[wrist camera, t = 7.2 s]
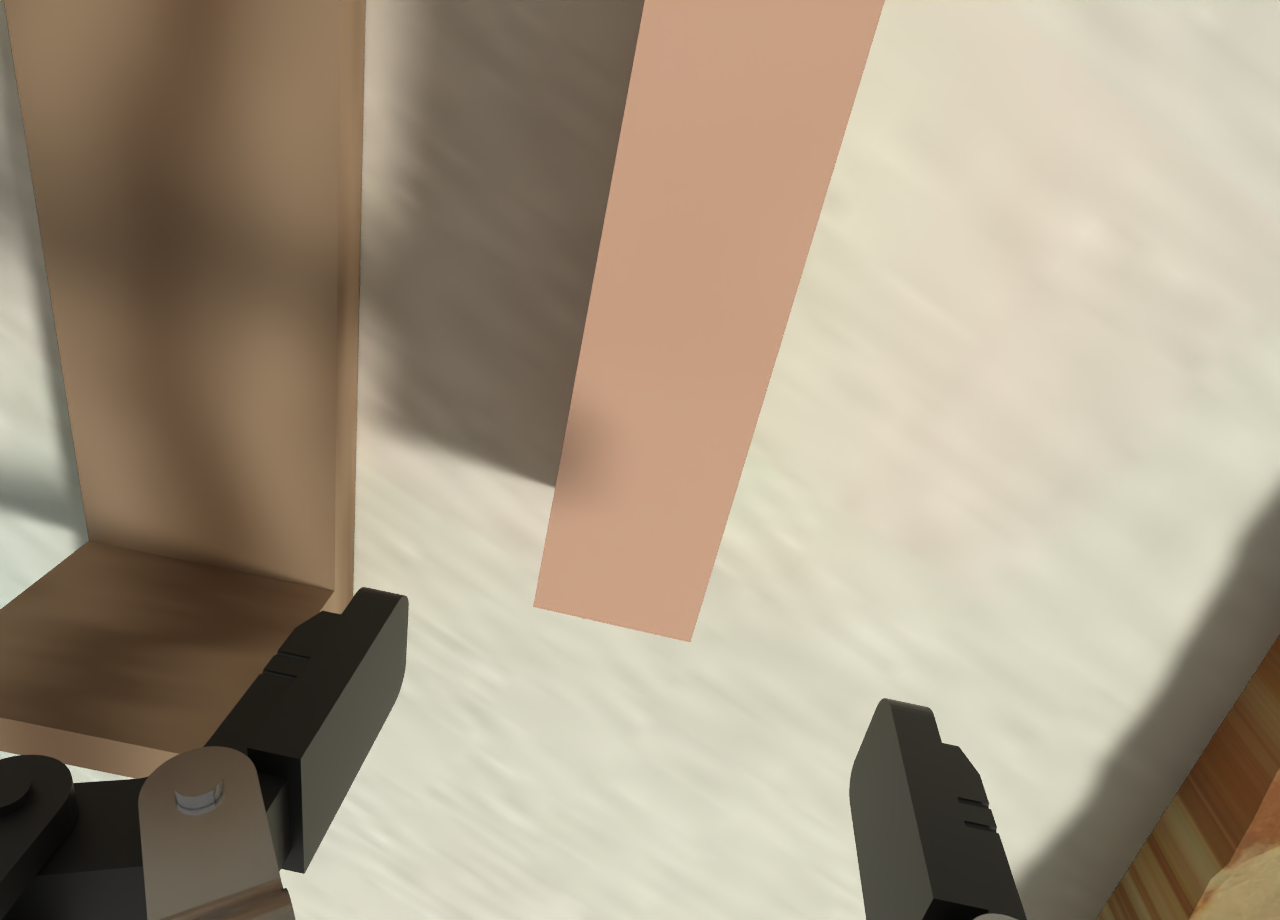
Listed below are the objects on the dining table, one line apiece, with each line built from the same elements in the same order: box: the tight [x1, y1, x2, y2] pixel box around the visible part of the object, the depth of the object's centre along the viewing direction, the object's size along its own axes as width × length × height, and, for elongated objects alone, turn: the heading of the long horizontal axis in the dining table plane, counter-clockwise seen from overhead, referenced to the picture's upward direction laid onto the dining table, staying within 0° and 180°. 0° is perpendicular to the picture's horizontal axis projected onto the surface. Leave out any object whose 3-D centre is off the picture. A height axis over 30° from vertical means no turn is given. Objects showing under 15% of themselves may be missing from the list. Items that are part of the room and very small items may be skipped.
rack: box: [0, 0, 366, 779], centre depth 19 cm, size 8×26×8 cm, turn 170°
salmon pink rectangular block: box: [533, 0, 885, 642], centre depth 19 cm, size 4×16×6 cm, turn 168°
